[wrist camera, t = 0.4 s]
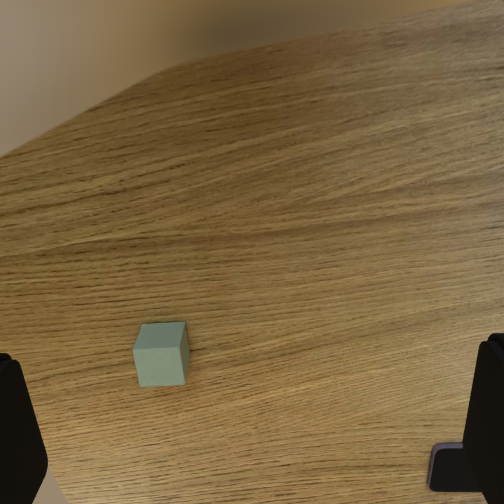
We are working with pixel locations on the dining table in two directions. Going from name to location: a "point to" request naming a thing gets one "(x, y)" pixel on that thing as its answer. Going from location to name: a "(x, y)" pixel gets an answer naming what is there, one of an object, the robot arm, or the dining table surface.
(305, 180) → the dining table surface
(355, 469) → the dining table surface
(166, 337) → the block
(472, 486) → the smartphone
